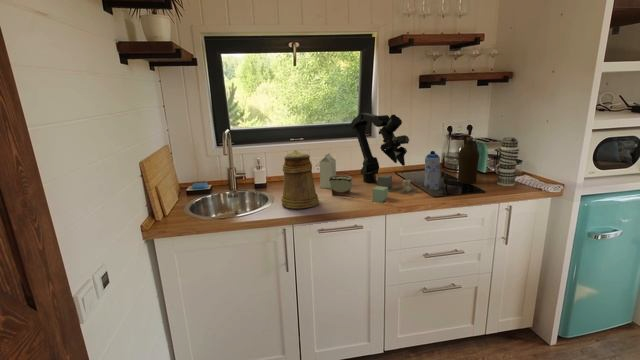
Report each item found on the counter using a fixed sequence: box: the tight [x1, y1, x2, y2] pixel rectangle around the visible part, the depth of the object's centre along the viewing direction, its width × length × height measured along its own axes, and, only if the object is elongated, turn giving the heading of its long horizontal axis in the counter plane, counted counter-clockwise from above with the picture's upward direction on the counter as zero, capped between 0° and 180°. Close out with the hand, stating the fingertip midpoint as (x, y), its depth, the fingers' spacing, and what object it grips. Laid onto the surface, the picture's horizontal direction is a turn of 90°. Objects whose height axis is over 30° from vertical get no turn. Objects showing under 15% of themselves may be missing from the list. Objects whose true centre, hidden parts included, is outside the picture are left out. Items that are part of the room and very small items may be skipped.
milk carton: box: [318, 152, 337, 189], centre depth 196 cm, size 7×7×19 cm
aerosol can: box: [423, 150, 441, 191], centre depth 185 cm, size 8×8×20 cm
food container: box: [329, 174, 353, 198], centre depth 181 cm, size 12×6×10 cm, turn 71°
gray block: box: [377, 174, 393, 190], centre depth 185 cm, size 6×6×7 cm
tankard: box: [281, 149, 320, 210], centre depth 170 cm, size 18×24×25 cm
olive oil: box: [457, 136, 480, 185], centre depth 193 cm, size 11×11×25 cm
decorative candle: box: [496, 136, 520, 187], centre depth 185 cm, size 9×9×25 cm
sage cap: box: [371, 185, 389, 204], centre depth 169 cm, size 6×6×7 cm
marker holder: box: [388, 179, 421, 196], centre depth 182 cm, size 22×12×7 cm, turn 56°
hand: (400, 164), depth 170 cm, fingers open, 9 cm apart
